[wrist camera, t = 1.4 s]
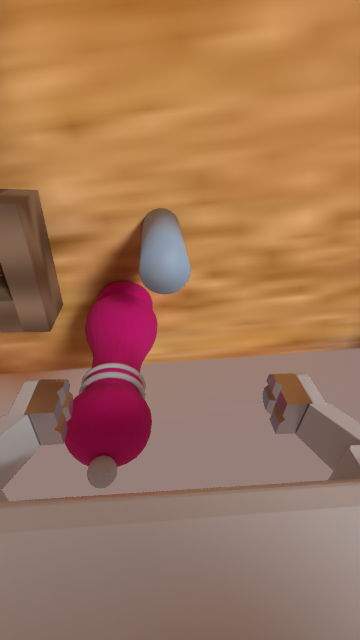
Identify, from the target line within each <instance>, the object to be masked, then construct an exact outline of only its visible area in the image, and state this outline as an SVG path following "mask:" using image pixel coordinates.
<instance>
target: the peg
mask: <svg viewBox="0 0 360 640" xmlns="http://www.w3.org/2000/svg"><path fill="white" fill-rule="evenodd" d="M190 272H191V269H190V264H189V260H188V256H187V252H186V249H185V245H184V241H183V237H182V234H181V230H180V226H179V222H178V219H177V218H176V216H175V215H174V214H173V213H172V212H171V211H169V210H167V209H162V208H159V209H155V210H152V211H151V212H149V213H148V214H147V215H146V217H145V219H144V221H143V228H142V241H141V254H140V267H139V274H140V278H141V280H142V282H143V284H144V285H145V286H146V287H147V288H148V289H150V290H151V291H153V292H156V293H159V294H170V293H174V292H176V291H178V290H180V289H181V288H182V287H184V286H185V284H186V283H187V281H188V279H189V277H190Z"/></svg>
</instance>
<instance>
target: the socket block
mask: <svg viewBox="0 0 360 640" xmlns="http://www.w3.org/2000/svg"><path fill="white" fill-rule="evenodd" d="M0 263H1V266H2V269H3V272H4V275H5V276H0V332H50V331H51V329H52V327H53V325H54V323H55V320H56V318H57V316H58V314H59V312H60V310H61V308H62V306H63V302H62V298H61V293H60V289H59V284H58V280H57V275H56V271H55V266H54V262H53V257H52V253H51V248H50V244H49V239H48V235H47V230H46V226H45V221H44V217H43V212H42V208H41V203H40V199H39V194H38V190H12V189H0Z"/></svg>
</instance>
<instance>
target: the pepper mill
mask: <svg viewBox="0 0 360 640" xmlns="http://www.w3.org/2000/svg"><path fill="white" fill-rule="evenodd" d="M85 331H86V337H87V341H88V344H89V346H90V348H91V350H92V353H93V363H92V368H91V369H90V370H89V371H88V372H87V373H86V374H85V376H84V377H83V380H82V386H81V388H80V392H79V395H78V396H77V397H76V398H75V399H74V400H73V412H72V415H71V418H70V419H69V420H68V421H67V426H68V430H67V434H66V437H65V444H66V446H67V448H68V450H69V452H70V453H71V454H72V455H73V457H74V458H75V459H77V460H79V461H80V462H81V463H83V464H84V465H87V466H89V467H88V470H87V477H88V480H89V482H90V484H91V485H92V486H94V487H96V488H105V487H107V486H109V485H110V484H111V483H112V482H113V481H114V479H115V477H116V475H117V467H118V466H121V465H124V464H127V463H128V462H130V461H132V460H133V459H135V458H136V457H137V456H138V455H139V454H140V453H141V452H142V450H143V449H144V447H145V446H146V444H147V441H148V439H149V436H150V432H151V425H152V420H151V412H150V409H149V407H148V405H147V403H146V401H145V387H146V386H145V380H144V378H143V376H142V375H141V374H140V368H141V365H142V362H143V360H144V358H145V357H146V355H147V354H148V352H149V351H150V350H151V348H152V346H153V344H154V341H155V338H156V334H157V319H156V316H155V314H154V312H153V306H152V299H151V297H150V295H149V293H148V292H147V291H146V290H145V289H144V288H143V287H142V286H140V285H138V284H136V283H133V282H129V281H118V282H114V283H111V284H109V285H107V286H106V287H105V288H104V289H103V290H102V291H101V292H100V294H99V297H98V300H97V302H96V303H95V304H94V305H93V306H92V308H91V309H90V311H89V313H88V316H87V320H86V326H85Z"/></svg>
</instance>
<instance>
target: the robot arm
mask: <svg viewBox="0 0 360 640" xmlns="http://www.w3.org/2000/svg"><path fill="white" fill-rule="evenodd" d="M267 382H268V386H266V387H265V388H264V391H263V403H264V406H265V409H266V411H267V412H269V413H270V414H271V418H270V421H271V424H272V426H273V428H274V431H275V433H276V434H283V433H286V434H287V433H296V435H297V436H298V437H299V438H300V439H301V440H302V441H303V442H304V443H305V444H306V445H307V446H308V447H309V448H310V449H311V450H312V451H313V452H314V453H315V454H316V455H317V456H318V457H320V458H321V459H322V460H323V461H324V462H325V463H326V464H327V465H328V466H329V467H330V468H331V469H332V470H333V473H332V474H331V476H330V477H329V479H328V480H327V481H311V482H296V483H282V484H267V485H266V484H265V485H251V486H235V487H219V488H204V489H188V490H174V491H159V492H145V493H144V492H143V493H130V494H129V493H128V494H113V495H99V496H81V497H66V498H51V499H35V500H20V501H8V499H7V497H6V496H5V494H4V493H3V491H2V489H3V487H4V486H5V485H6V484H7V483H8V482H9V481H10V480H11V479H12V478H13V476H14V475H15V474H16V473H17V472H18V471H19V470H20V469H21V467H22V466H23V465H24V464H25V463H26V462H27V461H28V460H29V459H30V458H31V456H32V455H33V454H34V453H35V452H36V451H37V450H38V449H39V448H40V445H52V444H64V441H65V437H66V434H67V430H68V426H67V421H68V420H69V419H70V418H71V415H72V412H73V396H72V394H71V393H70V392H69V388H70V384H69V381H68V380H26V381H25V382H24V383H23V385H22V387H21V389H20V391H19V393H18V395H17V397H16V400H15V401H14V403H13V405H12V407H11V409H10V411H9V413H8V415H3V416H2V417H0V640H360V423H358V422H357V421H355V420H354V419H352V418H351V417H349V416H348V415H346V414H345V413H343V412H342V411H340V410H339V409H337V408H336V407H334V406H333V405H331V404H330V403H327V404H326V403H325V401H324V400H323V398H322V396H321V395H320V393H319V392H318V390H317V389H316V387H315V386H314V384H313V382H312V381H311V379H310V378H309V376H308V375H307V374H306V373H293V374H291V373H289V374H270V375H269V376H268V378H267Z"/></svg>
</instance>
